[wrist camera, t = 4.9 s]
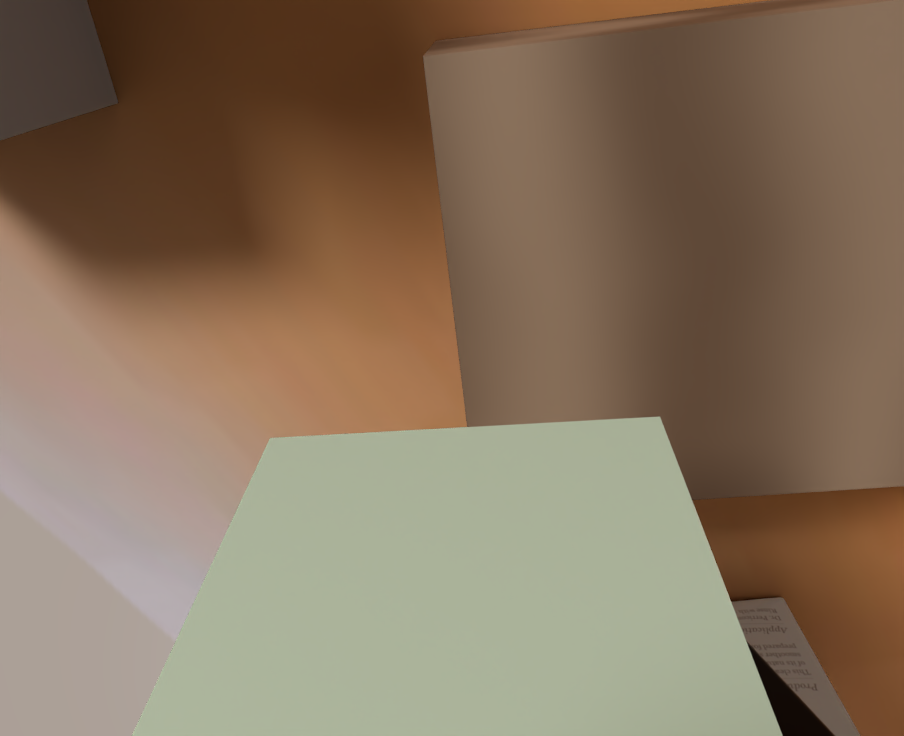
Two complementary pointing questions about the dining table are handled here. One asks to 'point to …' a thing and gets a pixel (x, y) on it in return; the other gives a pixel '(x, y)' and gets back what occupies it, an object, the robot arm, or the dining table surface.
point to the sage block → (464, 594)
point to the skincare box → (792, 659)
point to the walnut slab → (686, 234)
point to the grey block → (49, 64)
